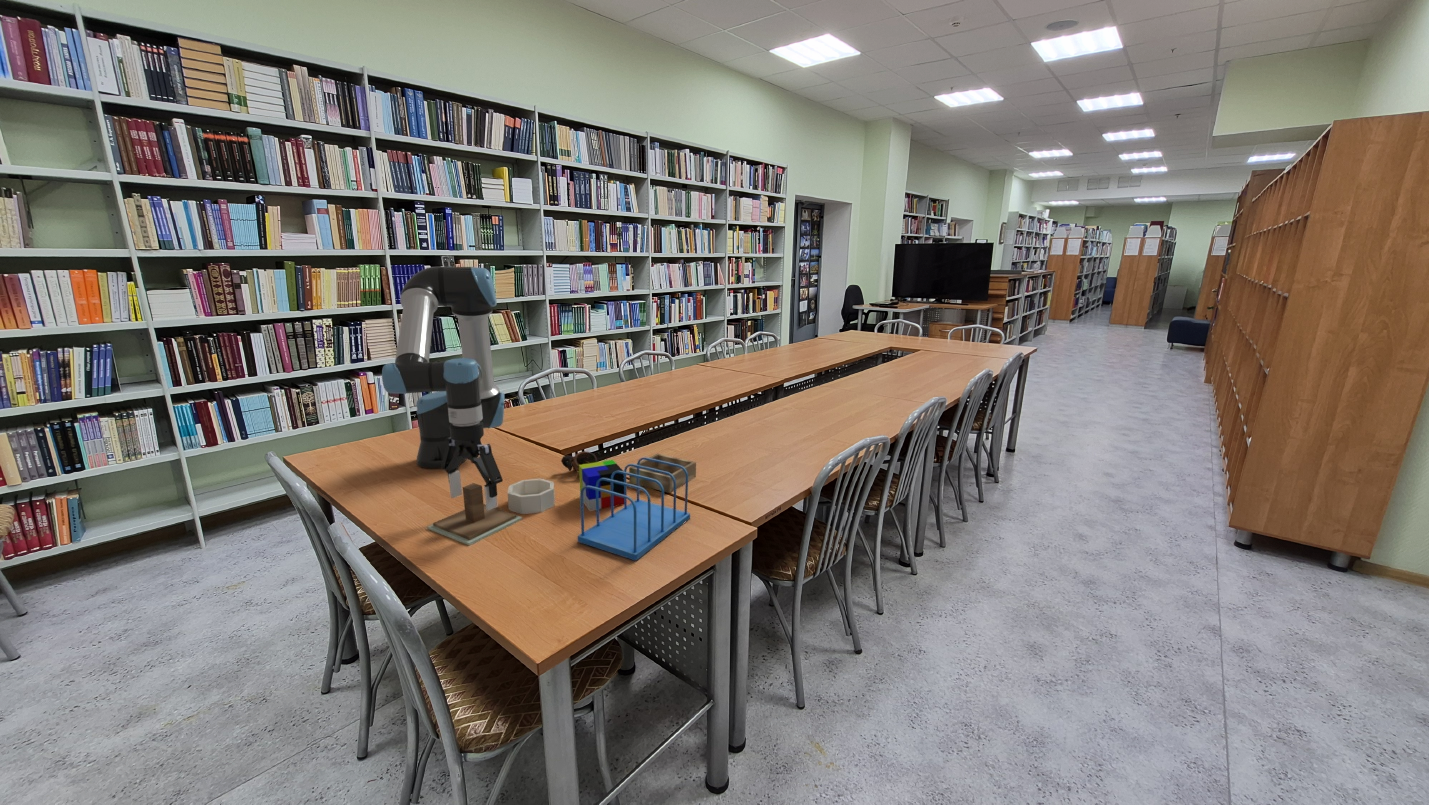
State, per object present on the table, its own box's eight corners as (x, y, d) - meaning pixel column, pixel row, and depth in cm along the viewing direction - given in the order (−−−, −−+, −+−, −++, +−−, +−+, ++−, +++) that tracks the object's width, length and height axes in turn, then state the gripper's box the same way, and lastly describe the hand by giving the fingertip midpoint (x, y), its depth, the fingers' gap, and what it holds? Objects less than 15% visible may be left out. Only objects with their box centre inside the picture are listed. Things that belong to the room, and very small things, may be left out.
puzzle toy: (589, 511, 148) (588, 477, 145) (580, 497, 156) (578, 465, 154) (624, 504, 152) (623, 471, 150) (613, 491, 161) (613, 459, 158)
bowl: (500, 506, 149) (498, 490, 148) (533, 491, 159) (532, 476, 158) (530, 517, 143) (529, 500, 142) (563, 501, 153) (562, 484, 152)
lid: (433, 526, 136) (429, 490, 134) (480, 505, 148) (477, 472, 146) (469, 540, 130) (466, 502, 127) (516, 517, 142) (513, 483, 139)
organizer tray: (629, 482, 167) (629, 467, 166) (657, 467, 180) (657, 453, 179) (669, 493, 160) (669, 477, 159) (695, 476, 173) (696, 462, 172)
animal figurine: (599, 468, 180) (602, 452, 175) (592, 490, 173) (596, 473, 168) (563, 459, 178) (565, 443, 173) (555, 481, 171) (557, 464, 166)
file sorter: (635, 562, 123) (634, 500, 119) (577, 543, 131) (574, 484, 127) (690, 519, 145) (691, 465, 141) (637, 505, 152) (636, 453, 149)
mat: (427, 528, 136) (427, 526, 136) (481, 505, 150) (481, 503, 149) (469, 545, 128) (469, 543, 128) (522, 519, 142) (522, 517, 142)
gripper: (420, 417, 135) (429, 496, 140) (487, 434, 123) (494, 519, 128) (447, 411, 141) (455, 486, 147) (513, 426, 130) (519, 507, 135)
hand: (473, 502), depth 138 cm, fingers open, 13 cm apart
